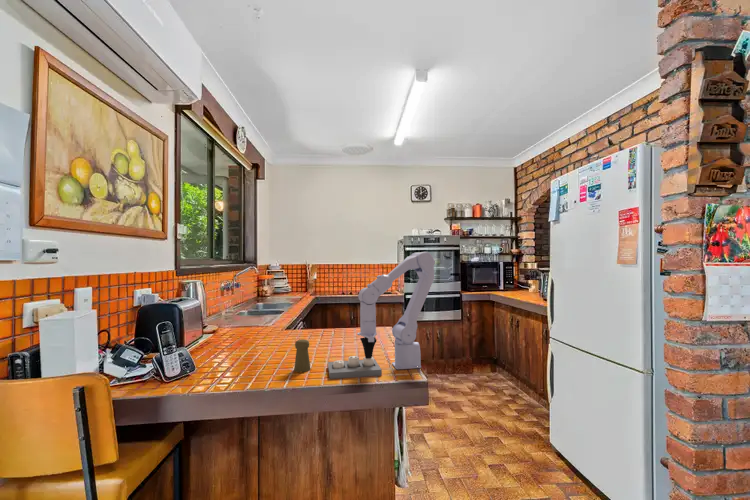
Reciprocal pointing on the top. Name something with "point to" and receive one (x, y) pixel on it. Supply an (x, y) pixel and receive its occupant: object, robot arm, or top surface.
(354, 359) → the button
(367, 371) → the button panel
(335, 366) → the button
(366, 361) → the button
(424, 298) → the robot arm
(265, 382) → the top surface
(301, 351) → the cork
